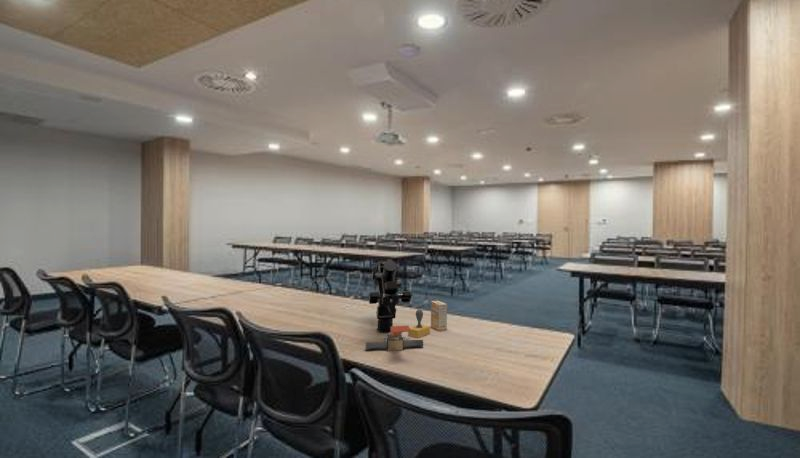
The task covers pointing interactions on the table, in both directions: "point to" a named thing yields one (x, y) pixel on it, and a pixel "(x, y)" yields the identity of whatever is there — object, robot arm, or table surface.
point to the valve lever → (398, 330)
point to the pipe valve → (394, 344)
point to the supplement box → (439, 315)
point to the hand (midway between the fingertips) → (392, 314)
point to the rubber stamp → (419, 327)
